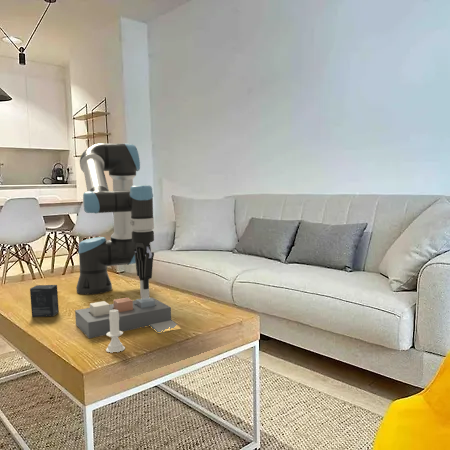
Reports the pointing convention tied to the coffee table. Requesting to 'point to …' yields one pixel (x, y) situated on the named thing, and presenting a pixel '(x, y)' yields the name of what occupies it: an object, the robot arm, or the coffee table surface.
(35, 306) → the box
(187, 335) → the coffee table surface
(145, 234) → the robot arm
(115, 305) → the terracotta key
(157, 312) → the key panel
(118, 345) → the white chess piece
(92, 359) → the coffee table surface
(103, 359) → the coffee table surface
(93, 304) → the ivory key
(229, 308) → the coffee table surface
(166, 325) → the smartphone
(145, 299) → the slate key
